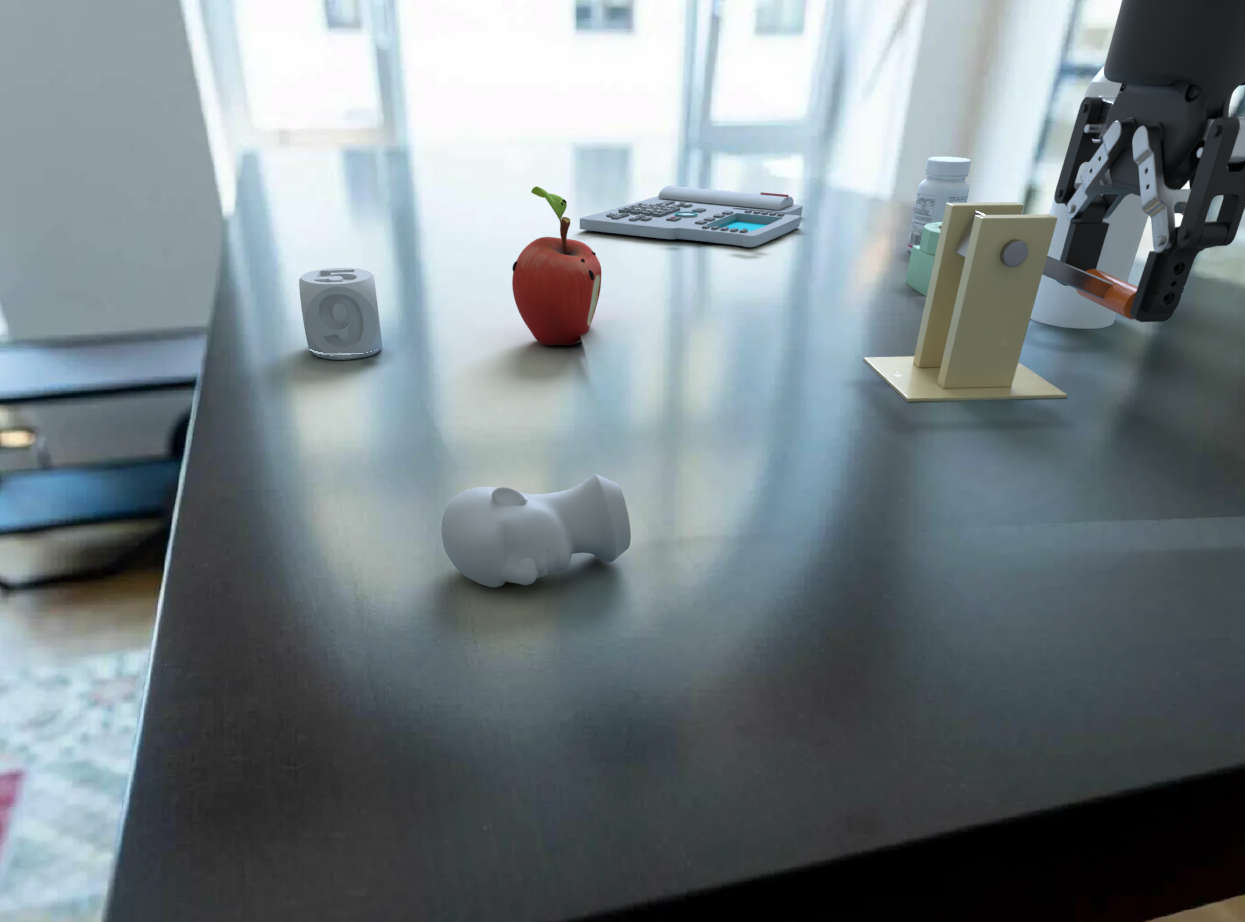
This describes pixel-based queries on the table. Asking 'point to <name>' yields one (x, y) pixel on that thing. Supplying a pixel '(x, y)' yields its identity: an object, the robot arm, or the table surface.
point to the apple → (557, 283)
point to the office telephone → (702, 216)
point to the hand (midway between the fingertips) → (1108, 301)
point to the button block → (923, 258)
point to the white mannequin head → (533, 530)
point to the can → (1115, 259)
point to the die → (340, 312)
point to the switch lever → (1079, 280)
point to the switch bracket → (977, 310)
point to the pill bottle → (938, 193)
